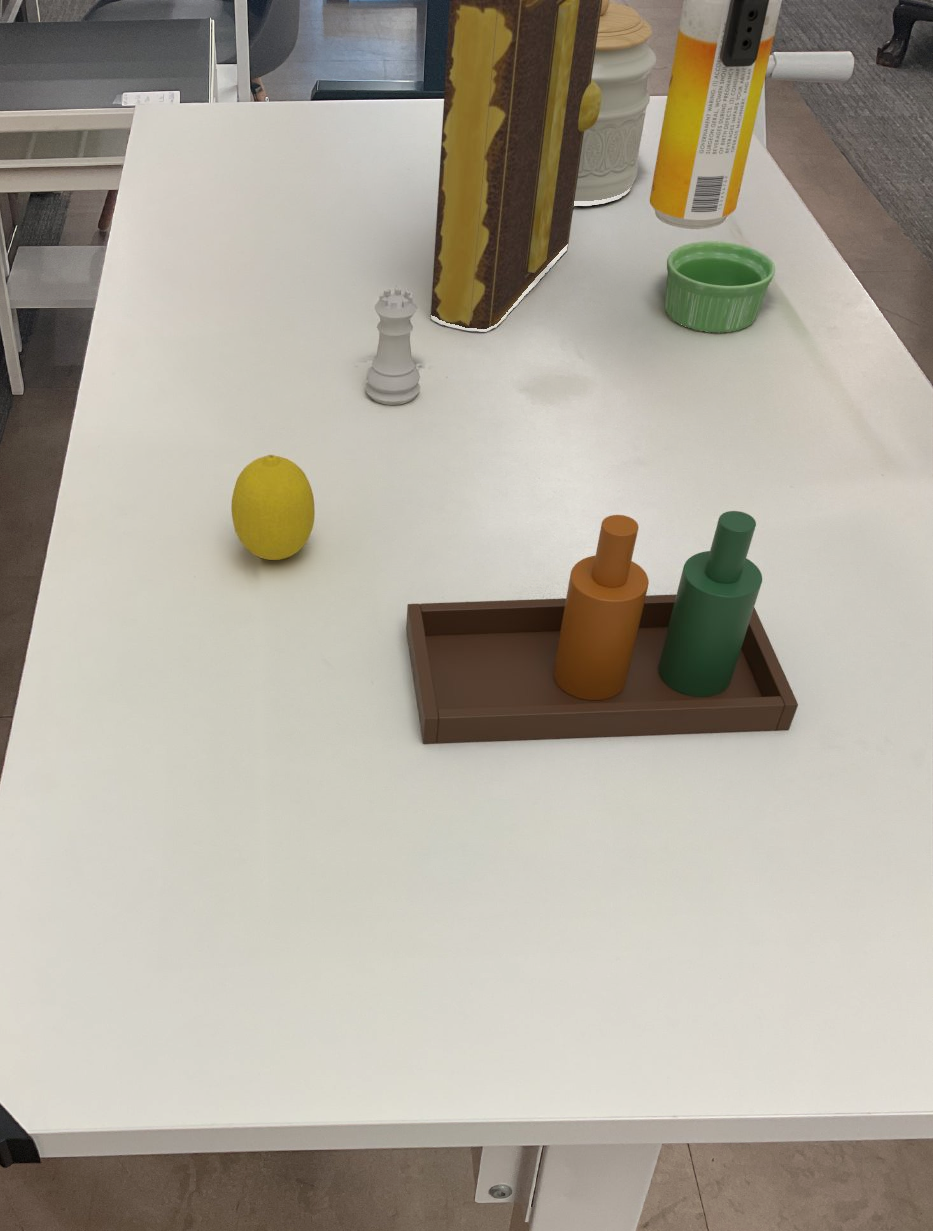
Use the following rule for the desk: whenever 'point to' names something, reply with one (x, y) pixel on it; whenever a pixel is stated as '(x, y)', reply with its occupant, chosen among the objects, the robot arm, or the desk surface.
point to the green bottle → (712, 611)
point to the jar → (616, 104)
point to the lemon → (273, 508)
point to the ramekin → (716, 285)
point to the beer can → (707, 119)
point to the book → (509, 148)
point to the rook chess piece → (394, 351)
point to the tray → (540, 710)
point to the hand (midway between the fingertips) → (722, 47)
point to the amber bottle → (602, 615)
